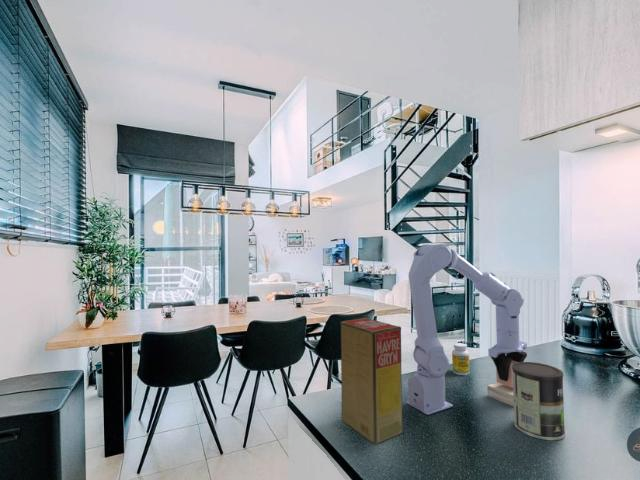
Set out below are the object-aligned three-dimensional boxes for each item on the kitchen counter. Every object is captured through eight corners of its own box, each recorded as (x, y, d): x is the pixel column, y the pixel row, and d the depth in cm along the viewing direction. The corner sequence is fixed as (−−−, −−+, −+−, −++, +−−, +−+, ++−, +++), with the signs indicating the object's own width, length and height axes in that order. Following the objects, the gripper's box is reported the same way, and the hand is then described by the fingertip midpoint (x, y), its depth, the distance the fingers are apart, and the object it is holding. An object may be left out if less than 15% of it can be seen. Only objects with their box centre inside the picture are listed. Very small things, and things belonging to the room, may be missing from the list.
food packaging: (405, 432, 79) (402, 326, 80) (374, 446, 74) (372, 332, 75) (368, 410, 91) (366, 316, 91) (339, 420, 86) (337, 321, 86)
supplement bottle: (464, 369, 119) (463, 341, 119) (472, 375, 113) (472, 346, 114) (449, 370, 118) (448, 342, 118) (457, 376, 113) (457, 347, 113)
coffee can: (563, 424, 82) (561, 365, 82) (567, 446, 73) (565, 380, 73) (514, 413, 87) (512, 358, 88) (512, 432, 79) (510, 371, 79)
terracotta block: (511, 387, 93) (511, 365, 93) (496, 382, 97) (496, 361, 97) (521, 384, 95) (521, 362, 95) (506, 378, 99) (506, 358, 99)
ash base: (514, 407, 91) (514, 395, 91) (487, 395, 98) (487, 385, 98) (532, 400, 94) (532, 389, 94) (505, 389, 102) (504, 379, 102)
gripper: (504, 337, 90) (506, 388, 89) (537, 329, 96) (538, 377, 96) (481, 331, 96) (482, 379, 96) (513, 324, 103) (514, 370, 102)
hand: (509, 378), depth 96 cm, fingers closed on terracotta block, 4 cm apart
